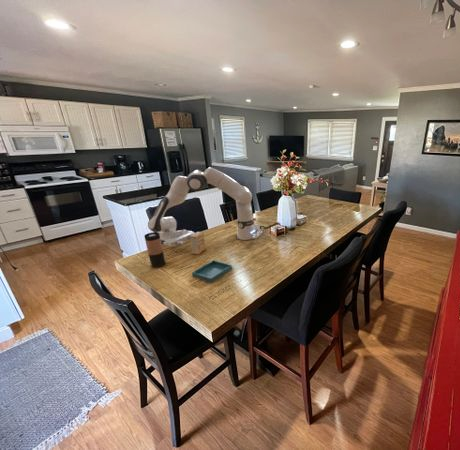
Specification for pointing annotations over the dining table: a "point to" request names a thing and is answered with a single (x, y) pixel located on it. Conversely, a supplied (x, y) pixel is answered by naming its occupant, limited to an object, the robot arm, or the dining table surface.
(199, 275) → the tray
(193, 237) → the supplement box
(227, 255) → the dining table surface
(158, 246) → the travel mug
